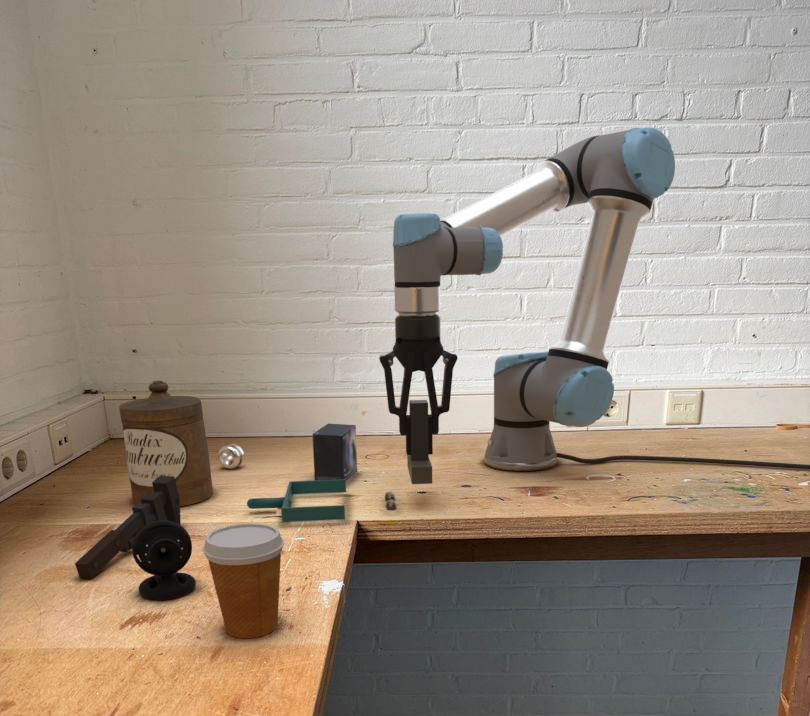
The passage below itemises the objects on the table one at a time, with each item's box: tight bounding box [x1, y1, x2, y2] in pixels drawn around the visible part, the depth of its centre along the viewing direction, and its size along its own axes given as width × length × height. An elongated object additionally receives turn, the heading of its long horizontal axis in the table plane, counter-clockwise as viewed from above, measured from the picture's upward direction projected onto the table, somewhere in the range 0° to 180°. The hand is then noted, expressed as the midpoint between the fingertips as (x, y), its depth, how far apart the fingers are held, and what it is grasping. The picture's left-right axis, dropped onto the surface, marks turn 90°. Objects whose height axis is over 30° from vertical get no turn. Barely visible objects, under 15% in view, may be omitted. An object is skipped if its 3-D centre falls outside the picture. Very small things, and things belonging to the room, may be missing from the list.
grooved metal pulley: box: [217, 443, 245, 470], centre depth 172 cm, size 5×3×5 cm, turn 71°
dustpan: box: [246, 479, 347, 523], centre depth 142 cm, size 17×17×3 cm
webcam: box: [131, 520, 197, 601], centre depth 108 cm, size 8×8×10 cm
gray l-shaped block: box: [406, 399, 433, 485], centre depth 139 cm, size 4×12×13 cm, turn 3°
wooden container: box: [118, 380, 214, 507], centre depth 149 cm, size 15×15×22 cm
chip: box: [384, 491, 396, 503], centre depth 145 cm, size 2×4×2 cm, turn 3°
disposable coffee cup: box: [201, 522, 285, 639], centre depth 96 cm, size 10×10×12 cm
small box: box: [312, 423, 358, 482], centre depth 159 cm, size 11×6×10 cm, turn 168°
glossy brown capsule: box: [385, 499, 397, 511], centre depth 140 cm, size 2×4×2 cm, turn 3°
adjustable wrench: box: [74, 476, 182, 580], centre depth 125 cm, size 8×3×25 cm
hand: (419, 452), depth 140 cm, fingers closed on gray l-shaped block, 3 cm apart
